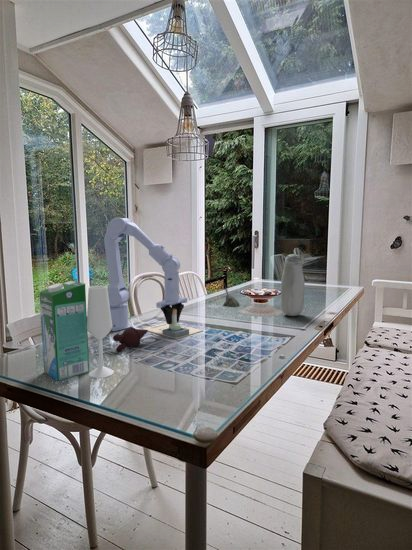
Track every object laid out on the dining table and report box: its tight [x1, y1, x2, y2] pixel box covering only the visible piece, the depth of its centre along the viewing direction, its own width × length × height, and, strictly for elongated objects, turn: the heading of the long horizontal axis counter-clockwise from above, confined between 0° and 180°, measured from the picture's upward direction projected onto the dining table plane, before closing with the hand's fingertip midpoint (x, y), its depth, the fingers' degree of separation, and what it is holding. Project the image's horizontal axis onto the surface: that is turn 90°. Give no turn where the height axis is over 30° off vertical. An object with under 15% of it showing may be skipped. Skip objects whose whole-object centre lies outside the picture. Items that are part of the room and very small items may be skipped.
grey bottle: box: [280, 253, 305, 317], centre depth 170 cm, size 10×10×28 cm
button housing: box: [162, 327, 189, 339], centre depth 141 cm, size 7×7×2 cm
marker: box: [169, 308, 178, 328], centre depth 149 cm, size 3×3×8 cm
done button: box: [171, 323, 182, 332], centre depth 141 cm, size 4×4×3 cm
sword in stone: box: [222, 282, 241, 308], centre depth 195 cm, size 10×8×12 cm
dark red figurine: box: [112, 327, 149, 353], centre depth 127 cm, size 7×7×15 cm
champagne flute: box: [86, 285, 115, 379], centre depth 103 cm, size 7×7×24 cm
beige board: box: [141, 322, 204, 340], centre depth 148 cm, size 14×20×1 cm
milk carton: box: [38, 280, 90, 382], centre depth 103 cm, size 9×9×25 cm
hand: (172, 323), depth 149 cm, fingers closed on marker, 3 cm apart
